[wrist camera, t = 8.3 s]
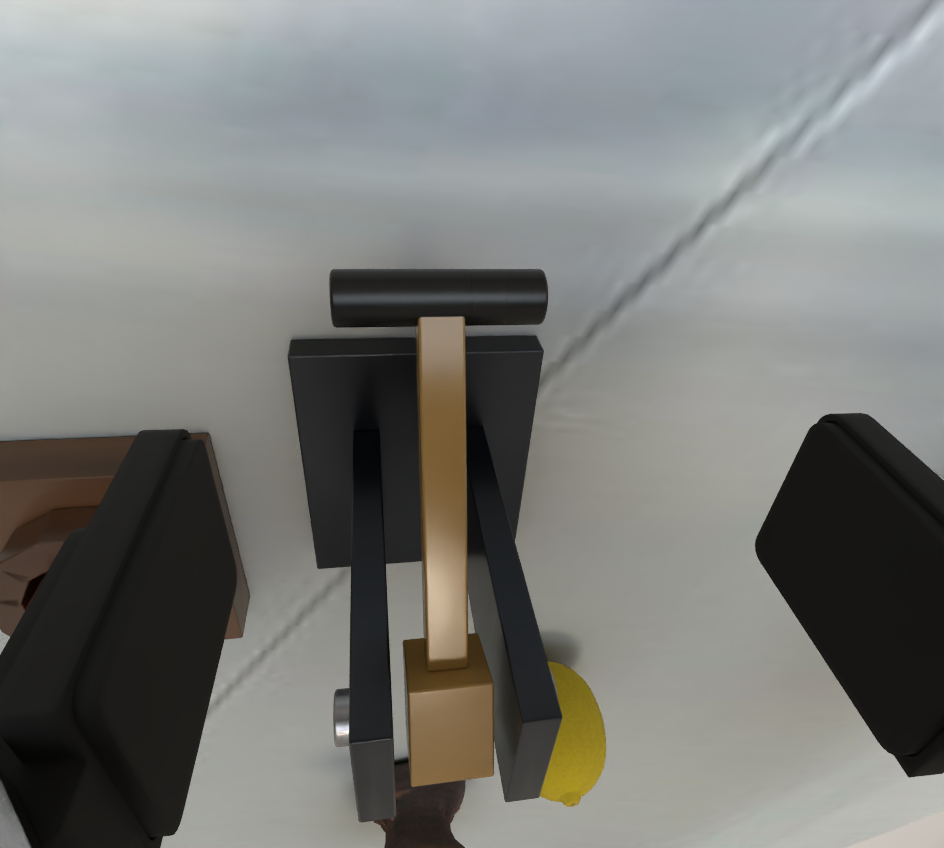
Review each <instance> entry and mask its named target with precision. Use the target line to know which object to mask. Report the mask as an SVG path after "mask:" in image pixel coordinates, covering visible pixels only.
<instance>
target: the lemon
mask: <svg viewBox="0 0 944 848" xmlns="http://www.w3.org/2000/svg"><path fill="white" fill-rule="evenodd" d="M548 665H549V669H550V670H551V672H552V674H553V677H554V680H555V683H556V688H557V694H558V702H559V706H560V709H561V713H562V717H563V718H562V722H561V725H560V728H559V732H558V735H557V739H556V742H555V745H554V749H553V752H552V756H551V759H550V762H549V766H548V769H547V773H546V776H545V779H544V783H543V786H542V790H541V793H540V796H541V797H543V798H546V799H548V800H551V801H557V802H562V803H563V804H564V805H566V806H568V807H571V806H575V805H577V804H578V803H579V801H580V799H581V797H582V796H583V795H585V794H586V793H587V792H588V791H590V790H591V789H592V787H593V786H594V785H595V784H596V782H597V780H598V779H599V777H600V775H601V773H602V771H603V768H604V763H605V757H606V736H605V728H604V723H603V719H602V715H601V712H600V709H599V706H598V704H597V702H596V699H595V697H594V695H593V693H592V691H591V689H590V688H589V686H588V685H587V683H586V682H585V681H584V680H583V678H581V677H580V676H579V675H578V674H577V673H576V672H575V671H573V670H572V669H570V668H569V667H567V666H564V665H562V664H560V663H555V662H548Z"/></svg>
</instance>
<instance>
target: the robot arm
mask: <svg viewBox="0 0 944 848" xmlns="http://www.w3.org/2000/svg"><path fill="white" fill-rule="evenodd" d="M755 549H756V554H757V557H758V559H759V561H760V562H761V564H762V565H763V567H764V568H765V570H766V571H767V573H768V575H769V576H770V578H771V579H772V581H773V582H774V584H775V585H776V587H777V588H778V590H779V591H780V593H781V594H782V596H783V597H784V599H785V600H786V602H787V604H788V605H789V607H790V608H791V610H792V611H793V613H794V614H795V616H796V617H797V619H798V620H799V622H800V623H801V625H802V626H803V628H804V629H805V631H806V633H807V634H808V636H809V637H810V639H811V640H812V642H813V643H814V645H815V646H816V648H817V649H818V651H819V652H820V654H821V655H822V657H823V658H824V660H825V662H826V663H827V665H828V666H829V668H830V669H831V671H832V672H833V674H834V675H835V677H836V678H837V680H838V681H839V683H840V684H841V686H842V687H843V689H844V690H845V692H846V694H847V695H848V697H849V698H850V700H851V701H852V703H853V704H854V706H855V707H856V709H857V710H858V712H859V713H860V715H861V716H862V718H863V719H864V721H865V723H866V724H867V726H868V727H869V729H870V730H871V732H872V733H873V735H874V736H875V738H876V739H877V741H878V742H879V743H880V745H881V746H882V747H883V748H884V749H885V750H886V751H887V752H888V753H891V754H893V755H894V756H895V758H896V759H897V761H898V762H899V764H900V765H901V767H902V768H903V770H904V771H905V773H906V774H907V776H908V777H916V776H925V775H934V774H942V773H944V480H942V479H941V478H940V477H939V476H938V475H937V474H936V473H934V472H933V471H932V470H931V469H930V468H929V467H928V466H927V465H925V464H924V463H923V462H922V461H921V460H920V459H919V458H918V457H916V456H915V455H914V454H913V453H912V452H911V451H910V450H908V449H907V448H906V447H905V446H904V445H903V444H902V443H901V442H899V441H898V440H897V439H896V438H895V437H894V436H893V435H892V434H890V433H889V432H888V431H887V430H886V429H885V428H884V427H882V426H881V425H880V424H879V423H878V422H877V421H876V420H875V419H873V418H872V417H870V416H869V415H867V414H862V413H849V414H828V415H825V416H823V417H822V418H821V419H820V420H819V421H818V423H817V424H814V425H813V426H812V427H811V428H810V429H809V431H808V433H807V435H806V437H805V439H804V441H803V443H802V445H801V447H800V449H799V451H798V453H797V455H796V457H795V459H794V462H793V464H792V466H791V468H790V470H789V472H788V474H787V476H786V478H785V480H784V482H783V484H782V486H781V488H780V490H779V492H778V494H777V497H776V499H775V501H774V503H773V505H772V507H771V509H770V511H769V513H768V515H767V517H766V519H765V521H764V523H763V525H762V527H761V529H760V532H759V534H758V536H757V538H756V542H755ZM236 587H237V568H236V563H235V559H234V555H233V551H232V547H231V543H230V539H229V535H228V531H227V528H226V524H225V520H224V516H223V512H222V508H221V504H220V500H219V496H218V492H217V488H216V485H215V481H214V477H213V473H212V469H211V465H210V461H209V457H208V453H207V449H206V446H205V443H204V442H203V440H201V439H191V436H190V434H189V433H188V431H187V430H184V429H179V430H143V431H141V432H139V433H138V435H137V436H136V437H135V439H134V441H133V443H132V445H131V447H130V448H129V450H128V452H127V454H126V456H125V458H124V460H123V461H122V463H121V465H120V467H119V469H118V471H117V473H116V474H115V476H114V478H113V480H112V482H111V484H110V486H109V487H108V489H107V491H106V493H105V495H104V497H103V499H102V500H101V502H100V504H99V506H98V508H97V510H96V512H95V513H94V515H93V517H92V519H91V521H90V523H89V525H88V526H87V528H78V529H77V530H75V531H73V532H72V533H71V534H70V535H69V536H68V538H67V539H66V540H65V542H64V543H63V545H62V547H61V549H60V550H59V552H58V554H57V556H56V557H55V559H54V561H53V563H52V564H51V566H50V568H49V570H48V572H47V573H46V575H45V577H44V579H43V580H42V582H41V584H40V586H39V587H38V589H37V591H36V593H35V595H34V596H33V598H32V600H31V602H30V603H29V605H28V607H27V609H26V610H25V612H24V614H23V616H22V618H21V619H20V621H19V623H18V625H17V626H16V628H15V630H14V632H13V633H12V635H11V637H10V639H9V641H8V642H7V644H6V646H5V648H4V649H3V651H2V653H1V655H0V848H160V846H161V842H162V838H163V836H170V835H173V834H175V832H176V831H177V829H178V827H179V825H180V822H181V819H182V815H183V811H184V807H185V803H186V798H187V794H188V790H189V786H190V781H191V777H192V773H193V769H194V765H195V760H196V756H197V752H198V748H199V744H200V739H201V735H202V731H203V727H204V723H205V718H206V714H207V710H208V706H209V702H210V697H211V693H212V689H213V685H214V681H215V676H216V672H217V668H218V664H219V659H220V655H221V651H222V647H223V643H224V638H225V634H226V630H227V626H228V622H229V617H230V613H231V609H232V605H233V601H234V596H235V592H236Z"/></svg>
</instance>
